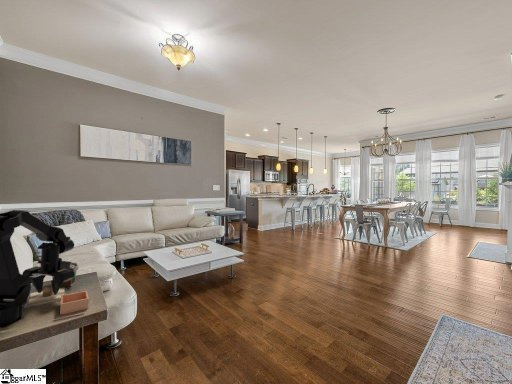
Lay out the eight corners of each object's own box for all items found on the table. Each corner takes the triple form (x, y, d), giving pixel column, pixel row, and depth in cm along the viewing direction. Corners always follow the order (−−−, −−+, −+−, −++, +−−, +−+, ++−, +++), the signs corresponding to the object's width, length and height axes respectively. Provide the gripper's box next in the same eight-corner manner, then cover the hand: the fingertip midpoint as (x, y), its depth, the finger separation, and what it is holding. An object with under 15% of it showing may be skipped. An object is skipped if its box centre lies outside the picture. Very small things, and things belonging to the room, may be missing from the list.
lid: (64, 299, 96) (65, 287, 96) (27, 306, 89) (28, 293, 89) (64, 289, 105) (65, 278, 105) (30, 295, 98) (31, 283, 98)
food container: (84, 283, 114) (85, 263, 114) (73, 288, 108) (74, 267, 108) (61, 280, 115) (63, 260, 115) (49, 285, 109) (51, 264, 109)
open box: (88, 309, 91) (88, 298, 91) (60, 316, 85) (60, 304, 85) (86, 301, 97) (87, 290, 97) (60, 306, 92) (61, 295, 92)
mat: (67, 301, 96) (67, 299, 96) (23, 309, 88) (23, 308, 88) (67, 289, 106) (67, 288, 106) (27, 296, 98) (27, 295, 98)
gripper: (86, 254, 104) (83, 287, 104) (48, 250, 106) (46, 283, 106) (63, 261, 93) (61, 299, 93) (22, 257, 95) (19, 294, 95)
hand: (47, 293), depth 97 cm, fingers open, 7 cm apart
